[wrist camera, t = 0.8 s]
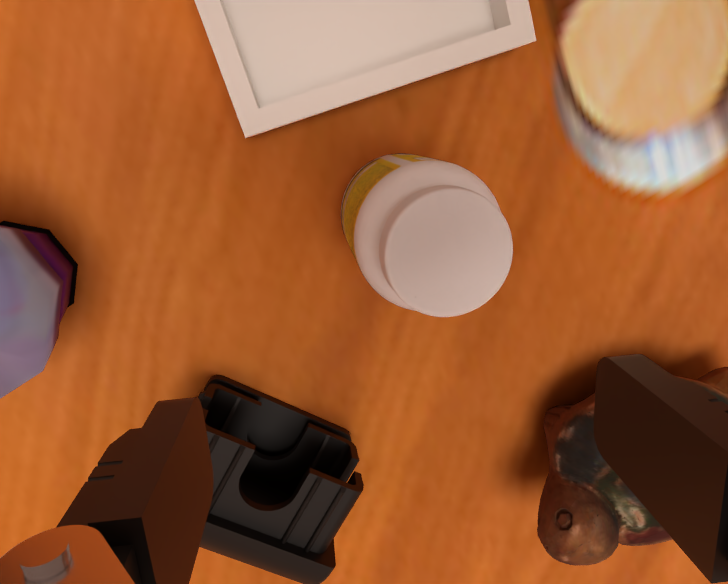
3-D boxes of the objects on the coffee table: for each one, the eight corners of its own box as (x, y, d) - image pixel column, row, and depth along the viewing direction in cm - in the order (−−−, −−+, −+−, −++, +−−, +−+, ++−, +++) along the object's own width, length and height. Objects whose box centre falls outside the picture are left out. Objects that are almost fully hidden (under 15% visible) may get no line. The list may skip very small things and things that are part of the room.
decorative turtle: (467, 440, 35) (519, 517, 27) (665, 295, 34) (776, 329, 27) (545, 546, 37) (615, 644, 29) (732, 410, 37) (852, 472, 29)
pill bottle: (359, 282, 31) (389, 360, 20) (324, 173, 29) (337, 198, 19) (465, 247, 31) (549, 308, 21) (437, 137, 29) (514, 141, 19)
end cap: (154, 467, 33) (118, 550, 26) (205, 367, 32) (181, 428, 25) (306, 525, 35) (307, 615, 29) (360, 434, 34) (374, 506, 27)
